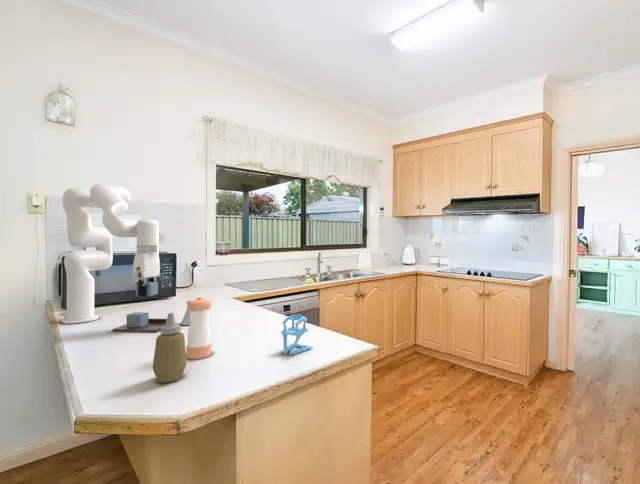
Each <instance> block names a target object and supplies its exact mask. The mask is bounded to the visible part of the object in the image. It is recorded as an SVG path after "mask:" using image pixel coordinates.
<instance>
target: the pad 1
mask: <svg viewBox="0 0 640 484" xmlns="http://www.w3.org/2000/svg"><path fill="white" fill-rule="evenodd" d="M145 286H147V295H146V296H145V297H152V296H155V295H159V281H157V282H149V281H146V285H145ZM135 296H137V297H138V286H137V283H136V282H135Z"/></svg>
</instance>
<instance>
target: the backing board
mask: <svg viewBox="0 0 640 484" xmlns="http://www.w3.org/2000/svg"><path fill="white" fill-rule="evenodd" d="M166 321H167V318H153V317H152V318H149V317H148V324H147V325H145V326H142V327H126V326H127V323H126V324H123V325H120V326H117V327H115V328H112V329H111V331H112V332H115V333H116V332H117V333H158V332H161V327H163V326H165V324H166Z"/></svg>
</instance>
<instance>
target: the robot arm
mask: <svg viewBox="0 0 640 484" xmlns="http://www.w3.org/2000/svg"><path fill="white" fill-rule="evenodd" d="M130 200H131V193H130V191H129V190H128V189H127V188H126V187H125V186H121V185H114V184H107V183H98V184H94V185H92V186H91V187H90V188H89V187H81V186H80V187H74V186H73V187H69V188H67V189H66V190H64V192H63V195H62V199H61V202H62V207H63V209H64V212H65V216H66V230H67V231H66V232H67V242H68V244H69V246H71V247H73V248H94V249H93V250H92V249H91V250H90V249H89V250H88V249H87V250H86V249H85V250H73V251H70V252H68V253H67V254H66V255H65V256H64V259H63V265H64V269H65V274H66V310H63V311H61V312H59V314H58V316H60V317H63V318H62V319H61V323H62V324H67V325H69V324H82V323H87V322H92V321H96V320H98V319H99V315H98V314H95V291H96V290H95V288H96V287H95V284H96V283H95V278H94V276H93V275H92V274H91V273H90V272H92V271H104V270H107V269H110V268H111V267H112V265H113V261H114V256H113V255H114V253H113V237H112V236H114V237H117V238H136V251H135V252H136V253H135V255H134V258H133V263H132V280H133V282H135V284H136V283H137V286H138V296H139V297H147V296H146V295H147V286H145V285H146V282H158V280H159V278H160V276H161V264H160V263H161V262H160V255H159V254H160V253H159V250H160V249H159V245H160V243H159V241H160V236H159V235H160V223H159V221H158V220H156V219H135V218H120V217H121V216H123V215H125V213H127V211H128V209H129V206H128V203H130ZM86 208H97V209H101V210H102V211H103V212H102V216H101V217H102V219H101V220H102V224H103V227H101V226H93V224H92V222H93V221H92V220H93V219H92V216H91V214H90V213H89V211H88V210H87V209H86ZM147 280H148V281H147ZM138 296H137V297H138Z"/></svg>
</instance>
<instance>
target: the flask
mask: <svg viewBox="0 0 640 484" xmlns="http://www.w3.org/2000/svg"><path fill="white" fill-rule="evenodd" d="M192 300H193V299H192ZM192 300H191V299H190V300H187V301H186V304H187V305H188V303H189V302H190V301H192ZM187 305H186V310H185V313H184V316H183V318H182V320H181V323H180V325H182V326H189V325H190V310H189V309H188V307H187Z"/></svg>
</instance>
